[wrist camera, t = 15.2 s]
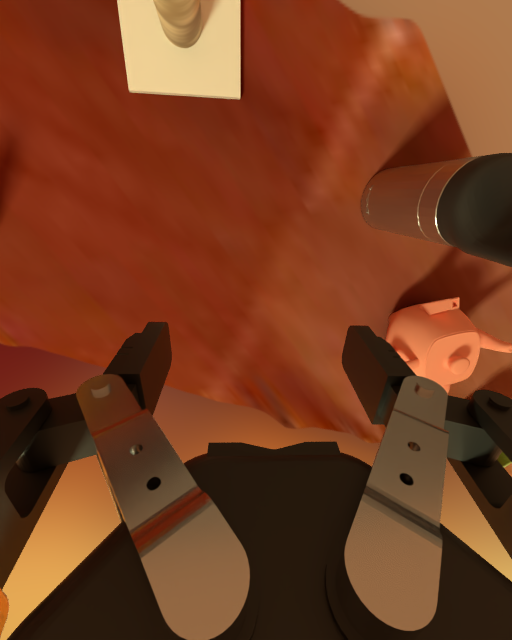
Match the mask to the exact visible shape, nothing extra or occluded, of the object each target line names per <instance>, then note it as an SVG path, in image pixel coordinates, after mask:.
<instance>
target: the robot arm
mask: <svg viewBox="0 0 512 640" xmlns="http://www.w3.org/2000/svg"><path fill="white" fill-rule="evenodd" d="M361 209H362V214H363V217H364V219H365V220H366V222H367V223H368V224H369V225H370V226H372V227H374V228H376V229H380V230H384V231H388V232H392V233H396V234H401V235H405V236H409V237H414V238H418V239H422V240H427V241H431V242H435V243H440V244H445V245H449V246H453V247H458V248H459V249H460V250H462V251H464V252H465V253H468V254H471V255H474V256H478V257H481V258H484V259H488V260H491V261H494V262H497V263H500V264H503V265H506V266H510V267H512V153H499V154H492V155H486V156H478V157H470V158H463V159H456V160H449V161H441V162H433V163H426V164H418V165H411V166H402V167H395V168H389V169H385V170H383V171H381V172H379V173H378V174H376V175H375V176H374V177H373V178H372V179H371V180H370V181H369V183H368V184H367V186H366V188H365V190H364V192H363V195H362V200H361ZM171 360H172V352H171V344H170V335H169V327H168V323H167V322H148V324H147V325H146V327H145V329H144V330H143V332H142V333H135V334H134V335H132V336H131V337H129V338H128V339H126V341H125V342H124V344H123V345H122V347H121V349H120V350H119V351H118V352H117V355H115V357H114V358H113V360H112V361H111V363H110V364H109V366H108V367H107V369H106V370H105V372H104V373H103V375H99V376H96V377H93V378H91V379H89V380H87V381H85V382H84V383H83V384H81V386H80V387H79V388H78V389H77V392H76V393H75V394H71V395H66V396H62V397H56V398H51V399H48V396H47V394H46V392H45V391H44V390H42V389H39V388H27V389H22V390H19V391H16V392H13V393H11V394H8V395H6V396H5V397H3V398H1V399H0V637H1V633H2V630H3V627H4V624H5V622H6V619H7V616H8V611H9V602H8V598H7V596H6V594H5V593H4V592H3V591H2V589H3V587H4V585H5V583H6V581H7V579H8V577H9V575H10V573H11V571H12V570H13V567H14V566H15V564H16V562H17V560H18V558H19V556H20V554H21V552H22V550H23V548H24V547H25V545H26V543H27V541H28V539H29V537H30V535H31V533H32V531H33V529H34V527H35V525H36V523H37V521H38V520H39V518H40V516H41V514H42V512H43V510H44V508H45V506H46V504H47V502H48V500H49V498H50V497H51V495H52V493H53V491H54V489H55V487H56V485H57V483H58V481H59V479H60V478H61V475H62V474H63V472H64V470H65V468H66V466H67V464H68V462H71V461H75V460H78V459H82V458H85V457H89V456H93V455H96V456H97V459H98V461H99V464H100V467H101V469H102V472H103V475H104V477H105V480H106V483H107V485H108V488H109V491H110V493H111V496H112V499H113V502H114V504H115V507H116V510H117V513H118V515H119V519H120V521H121V523H120V524H119V525H118V526H117V527H116V528H115V529H114V530H113V531H112V532H111V534H109V535H108V536H107V537H106V538H105V539H104V540H103V541H102V542H101V543H100V544H99V545H98V546H97V547H96V548H95V549H94V550H93V551H92V552H91V553H90V554H89V555H88V556H87V557H86V558H85V559H84V560H83V561H82V562H81V563H80V564H79V565H78V566H77V567H76V568H75V569H74V570H73V571H72V572H71V573H70V574H69V575H68V576H67V577H66V579H64V580H63V581H62V582H61V583H60V584H59V585H58V586H57V587H56V588H55V589H54V590H53V591H52V592H51V593H50V594H49V596H47V597H46V598H45V599H44V600H43V601H42V602H41V603H40V604H39V605H38V606H37V607H36V608H35V609H34V610H33V611H32V612H31V613H30V614H29V615H28V616H27V617H26V618H25V619H24V621H23V622H22V623H21V624H20V625H19V626H18V627H17V628H16V629H15V631H14V632H13V633H12V634H11V635H10V637H9V638H8V639H7V640H512V582H511V581H510V580H509V579H508V578H506V577H505V576H504V575H503V574H502V573H500V572H499V571H498V570H497V569H495V568H494V567H493V566H492V565H491V564H489V563H488V562H487V561H486V560H485V559H483V558H482V557H481V556H480V555H479V554H477V553H476V552H475V551H474V550H472V549H471V548H470V547H469V546H468V545H466V544H465V543H464V542H463V541H462V540H460V539H459V538H458V537H457V536H456V535H454V534H453V533H452V532H450V531H449V530H448V529H447V528H445V526H443V525H442V524H441V523H440V516H441V507H442V497H443V487H444V478H445V468H446V458H447V459H448V461H449V462H450V464H451V465H452V466H453V468H454V470H455V472H456V473H457V475H458V476H459V478H460V479H461V481H462V482H463V484H464V485H465V487H466V489H467V490H468V492H469V493H470V495H471V496H472V498H473V499H474V501H475V502H476V504H477V506H478V507H479V509H480V510H481V512H482V514H483V515H484V517H485V518H486V520H487V521H488V523H489V524H490V526H491V528H492V529H493V530H494V532H495V534H496V535H497V537H498V538H499V540H500V542H501V543H502V545H503V546H504V548H505V549H506V551H507V552H508V554H509V555H510V557H511V559H512V477H511V476H510V475H509V474H508V472H507V471H506V470H505V469H504V467H503V466H502V465H501V464H500V463H499V461H498V460H497V458H498V457H499V455H500V454H501V453H502V452H503V453H504V454H505V455H506V456H507V457H508V459H509V460H510V461H511V462H512V399H510V398H508V397H506V396H504V395H502V394H500V393H497V392H493V391H489V390H478V391H475V392H474V394H473V396H472V398H471V400H467V399H462V398H458V397H453V396H449V395H447V392H446V391H445V389H444V388H443V387H442V386H441V385H439V384H438V383H436V382H435V381H433V380H430V379H428V378H425V377H421V376H417V375H416V374H415V373H414V372H413V371H412V369H411V368H410V367H409V366H408V365H407V363H406V362H405V361H404V360H403V359H402V358H401V356H400V355H399V354H398V353H397V352H396V350H395V349H394V348H393V347H392V346H391V344H390V343H388V342H387V341H385V340H384V339H382V338H381V337H377V336H376V335H375V334H374V333H373V331H372V330H371V329H370V328H369V326H350V327H349V328H348V331H347V336H346V340H345V345H344V349H343V353H342V365H343V368H344V370H345V372H346V374H347V376H348V378H349V380H350V382H351V384H352V386H353V388H354V390H355V392H356V394H357V396H358V398H359V400H360V402H361V404H362V405H363V407H364V409H365V411H366V413H367V415H368V417H369V419H370V421H371V423H372V424H384V425H385V427H386V429H385V432H384V435H383V438H382V440H381V443H380V446H379V449H378V452H377V454H376V457H375V460H374V463H373V466H372V467H371V466H370V465H368V464H367V463H365V462H363V461H361V460H360V459H357V458H355V457H353V456H350V455H347V454H344V453H340V451H339V448H338V445H337V442H304V443H300V444H296V445H292V446H288V447H284V448H280V449H267V448H263V447H258V446H254V445H250V444H245V443H209V445H208V453H207V454H203V455H200V456H197V457H195V458H193V459H191V460H189V461H187V462H185V463H183V462H182V461H181V459H180V458H179V456H178V454H177V453H176V451H175V450H174V448H173V447H172V445H171V444H170V442H169V441H168V439H167V438H166V436H165V434H164V433H163V431H162V430H161V428H160V427H159V425H158V424H157V422H156V421H155V419H154V418H153V413H154V410H155V407H156V405H157V402H158V399H159V396H160V394H161V391H162V388H163V385H164V383H165V380H166V377H167V374H168V372H169V369H170V366H171Z"/></svg>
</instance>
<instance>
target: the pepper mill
mask: <svg viewBox="0 0 512 640" xmlns="http://www.w3.org/2000/svg"><path fill="white" fill-rule="evenodd" d="M153 1H154V4H155V7H156V10H157V14H158V17H159V20H160V23H161V26H162V29H163V31H164V34H165V35H166V37H167V38H168V40H169V41H170V42H171V43H172V44H174V45H175V46H177V47H180V48H189V47H191V46H193V45H194V44H195V43H196V42H197V41H198V39H199V37H200V35H201V31H202V17H201V4H200V0H153Z"/></svg>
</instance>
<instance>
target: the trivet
mask: <svg viewBox="0 0 512 640" xmlns="http://www.w3.org/2000/svg"><path fill="white" fill-rule="evenodd" d="M117 3H118V11H119V18H120V26H121V34H122V41H123V49H124V56H125V64H126V72H127V79H128V87H129V91H130V92H134V93H149V94H164V95H180V96H195V97H210V98H226V99H240V0H200V4H201V17H202V31H201V35H200V37H199V39H198V41H197V42H196V43H195V44H194V45H193V46H191V47H189V48H180V47H177V46H175V45H174V44H172V43H171V42H170V41H169V40H168V38H167V37H166V35H165V34H164V31H163V29H162V26H161V23H160V20H159V17H158V14H157V10H156V7H155V4H154V1H153V0H117Z"/></svg>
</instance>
